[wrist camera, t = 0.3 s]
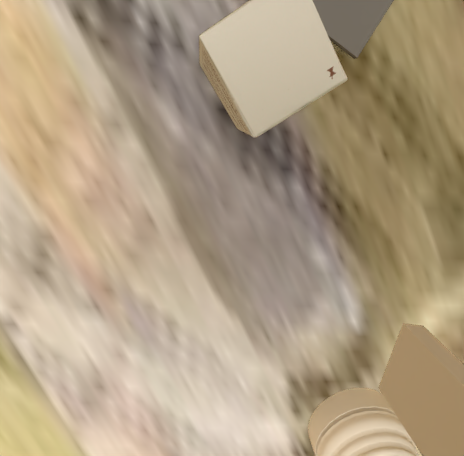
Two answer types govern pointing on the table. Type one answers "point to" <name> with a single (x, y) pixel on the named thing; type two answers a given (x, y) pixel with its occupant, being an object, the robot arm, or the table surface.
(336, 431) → the honey pot
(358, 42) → the slate mat
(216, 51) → the supplement box
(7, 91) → the table surface
